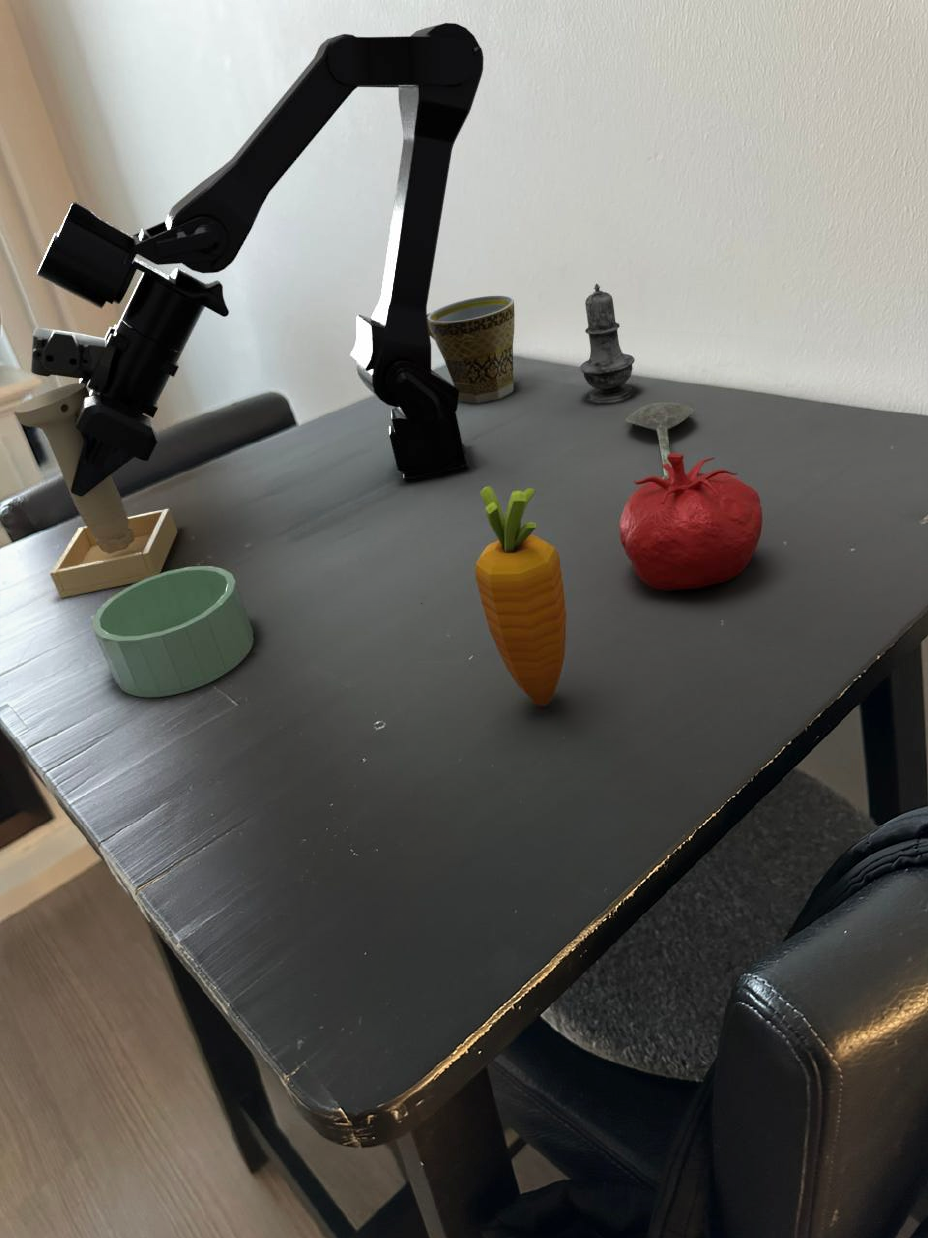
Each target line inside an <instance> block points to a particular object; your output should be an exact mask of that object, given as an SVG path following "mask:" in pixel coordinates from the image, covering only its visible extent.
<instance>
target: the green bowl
mask: <svg viewBox="0 0 928 1238" xmlns="http://www.w3.org/2000/svg"><path fill="white" fill-rule="evenodd" d="M245 607H246V606H245V605H244V602H243V599H242V595H241V593H240V590H239V588H238V584H237V582H236V579H235V577H234V575H233V573H231V572H229V571H228V570H226V569H224V568H222V567H217V566H209V565H200V566H199V565H198V566H187V567H182V568H178V569H172V570H168V571H164V572H160V574H158V575H155V576H152V577H149V578H146V579H144V580H142V581H140V582H135V583H132V584H131V585H129V586H127V587H126V588H124V589H122V590H121V591H119V592H118V593H116V594H115V595H113V596H111V597H110V598H108V600H106V602H104V603H103V604H102V605H101V606H100V607H99V609H97V610H96V612H95V615H94V616H93V619H92V620H91V624H92V631H93V633H94V636H95V638H96V641H97V642H98V645H99V647H100V650H101V651H102V654H103V656H104V658H105V660H106V663H107V665H108V668H109V670H110V672H111V675H112V677H113V679H114V681H115V682H116V684H117V685H118V687H119V688H120V690H121V691H123V692H124V693H126V694H128V695H130V696H133V697H139V698H162V697H169V696H173V695H174V696H175V695H179V694H183V693H185V692H189V691H193V690H195V689H198V688H201V687H203V686H205V685H207V684H210V683H212V682H213V681H216V680H219V678H221V677H223V676H225V675H226V674H228V673H229V672H231V671H232V670H233V669H235V668H236V667H237V666H238V665H239V664H240V663H242V661H243V660H244V659H245V658H246V657H247V656H248V654H249V653H250V651H251V650H252V648H253V645H254V642H255V635H254V630H253V628H252V625H251V621H250V619H249V616H248V613H247V610H246V608H245Z"/></svg>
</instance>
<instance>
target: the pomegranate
mask: <svg viewBox="0 0 928 1238" xmlns="http://www.w3.org/2000/svg"><path fill="white" fill-rule="evenodd" d="M667 459H668V461H669V463H670V464H671V466H672V468H671V466H670V465H669V464H668V463H666V464H664V465H663V464H662V468H663V467H664V468H665V470H666V471H667V473H668V476H669V478H666V479H663V478H661V477H659V476H656V475H651V476H648V477H645V478H642V479H639V480H633V482H634V484H636V485H641V486H640V487H639V488H637V489H635V491H634V492H633V493H632V494H631V495H630V497H629V498H628V500H627V502H626V503H625V505H624V508H623V510H622V513H621V516H620V520H619V524H618V533H619V539H620V542H621V545H622V548H623V550H624V552H625V555H626V556H627V557H628V559H629V560H630V561H631V564H632V566H633V569H634V570H635V574H636V575H637V577H638V578H639V579H640V581H642V582H643V583H644V584H645V585H647V586H649V587H650V588H653V589H655V590H660V591H666V592H667V591H668V592H669V591H671V592H672V591H683V590H684V591H685V590H693V589H700V588H704V587H709V586H712V585H718V584H721V583H725V582H727V581H730V580H731V579H733V578H735V577H736V576H738V575H740V574H741V573H742V572H743V571H744V569H746V568H747V566H748V564H749V562H750V561H751V560H752V557H753V555H754V553H755V551H756V549H757V547H758V544H759V540H760V538H761V534H762V527H763V509H762V508H763V507H762V505H761V499H760V496H759V493H758V491H757V490H756V489H754V488H753V487H752V486H750V485H748V484H746V483H745V482H743V481H742V480H741V479H740V478H738V477H737V476H736V475H738V472H732V471H729V470H726V469H715V470H712V471H711V472H700V471H701V468H702V466H703V465H704V463H707V462H709V461H713V460H715V459H716V458H715V457H711V458H705V459H703V460H700V461H698V462H697V463H696V465H694V466H693V467H692V468H691V469H690V470H689V471H688V473H686V469H685V465H684V454H683V453H676V452H672V453H671V452H670V454H668V455H667Z"/></svg>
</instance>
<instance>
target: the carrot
mask: <svg viewBox="0 0 928 1238" xmlns="http://www.w3.org/2000/svg"><path fill="white" fill-rule="evenodd" d="M535 492H536V489H534V488H533V487H532V488H531V487H527V489H526V490H525V491H522V490H515V491H511V495H510V497H509V500H508V504H507V508H506V513H505V515H504V513H503V511H502V508H501V505H500V501H499V499H498V497H497V495H496V493H495V490H494V489H493V488H492V487H491V485H488V486H487V485H486V486H485V487H483V489H482V490H481V491H480V492H479V493H480V496H481V498H482V500H483V502H484V504H485V506H486V507H485V514H486V517H487V520H488V522H489V526H490V527H491V529H492V531H493V533H494V534H495V536H496V537H497V540H496V541H493V542H492V543H489V544H488V545H486V547H485V548H484V550H483V551H482V553H481V555H480V556H479V558H478V559H477V562H476V563H475V565H474V574H475V575H474V576H475V580H476V584H477V589H478V592H479V596H480V600H481V604H482V608H483V612H484V615H485V618H486V622H487V626H488V629H489V632H490V634H491V636H492V639H493V642H494V643H495V647H496V649H497V651H498V653H499V655H500V657H501V659H502V661H503V664H504V665H505V668H506V670H507V671H508V672H509V674H510V675H511V677H512V679H513V680H514V681H515V682H516V684H517V685H518V687H519V688H520V689H521V690H522V691H523V692H524V694H526V695H527V697H528V698H529V699H530V700H531V701H532V703H534V704H535V705H537V706H539V707H542V708H545V707H547V706H548V705H549V704H550V703H551V702H552V699H553V698H554V697H553V696H554V694H555V692H556V688H557V686H558V683H559V681H560V677H561V673H562V670H563V664H564V661H565V655H566V654H565V652H566V640H567V639H566V637H567V609H566V600H565V590H564V589H565V588H564V582H563V575H562V568H561V561H560V556H559V552H558V551H557V548H556V547H555V546H553V545H551V544H550V543H549V542H547V541H545V540H543V539H542V538H541V537H538V536H536V535H535V534H532V533H533V532H534V531H535V530H536V528H537V523H535V522H534V521H533V522H532V521H529V522H525V523H524V524H523V525H522V519H523V516H524V513H525V511H526V508H527V506H528V503H529V502H530V500H531V499H532V498H533V496H534V494H535Z"/></svg>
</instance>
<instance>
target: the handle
mask: <svg viewBox="0 0 928 1238" xmlns="http://www.w3.org/2000/svg"><path fill="white" fill-rule="evenodd" d="M89 392H90V391H89V388H88V387H87V386H86V385H85V384H83V383H79V382H76V383H70V384H66V385H63V386H60V387H57V388H54V389H51V390H49V391H46V392H43V393H42V394H39V395H37V396H35V397H32V398H30V399H28V400H26V401H24V402H23V403H20V404H19V405H18V406H16V407H14V409H13V412H14V414H15V416H16V419H17V420H18V422H19V423H20V425H22V426H25V427H29V428H37V429H41V430H42V432H43V434H44V435H45V437H46V439H47V441H48V443H49V445H50V448H51V450H52V453H53V455H54V457H55V460H56V462H57V465H58V467H59V470H60V472H61V474H62V477H63V480H64V482H65V484H66V488H67V489H68V492H69V494H70V497H71V499H72V501H73V503H74V506H75V508H76V510H77V512H78V514H79V516H80V517H81V519H82V521H83V523H84V524H85V526H87V528H88V529H89V531H90V532H91V533H92V535H93V536H94V537H95V538H97V540H96V543H97V544H98V546H99V547H100V549H101V550H102V551H104V552H107V553H108V554H111V553H114V552H116V551H119V550H124V549H126V548H128V546H129V545H130V544H131V543H132V542H134V539H135V538H134V534H133V531H132V528H128V525H129V521H128V517H129V516H128V514H127V511H126V509H125V505H124V503H123V500H122V497H121V495H120V492H119V490H118V488H117V486H116V484H115V482H114V479H113V478H112V475H109V476H108V477H107V478H106V479H104V480H103V481H102V482H100V483H99V484H98V485H97V486H95V487H94V488H93V489H91V490H90V491H89V492H88V493H86V494H85V495H84V496H82V497H80V496H77V495H75V494H73V493H71V486H72V482H73V478H74V475H75V471H76V467H77V463H78V460H79V456H80V452H81V448H82V445H83V441H84V439H83V437H82V435H81V433H80V431H79V430H78V429H77V428H76V423H75V417H76V413H78V414H79V411H80V409H81V407H82V405H83V402H84V400H85V398H88V397H90V394H89Z"/></svg>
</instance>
